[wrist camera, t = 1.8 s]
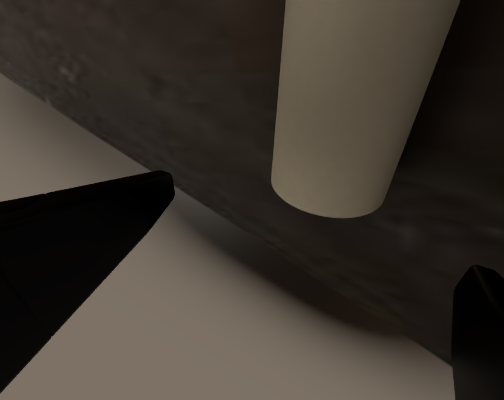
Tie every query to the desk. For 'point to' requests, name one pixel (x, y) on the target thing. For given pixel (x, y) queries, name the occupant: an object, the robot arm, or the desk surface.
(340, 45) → the paper towel roll
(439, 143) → the desk surface
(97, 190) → the robot arm
